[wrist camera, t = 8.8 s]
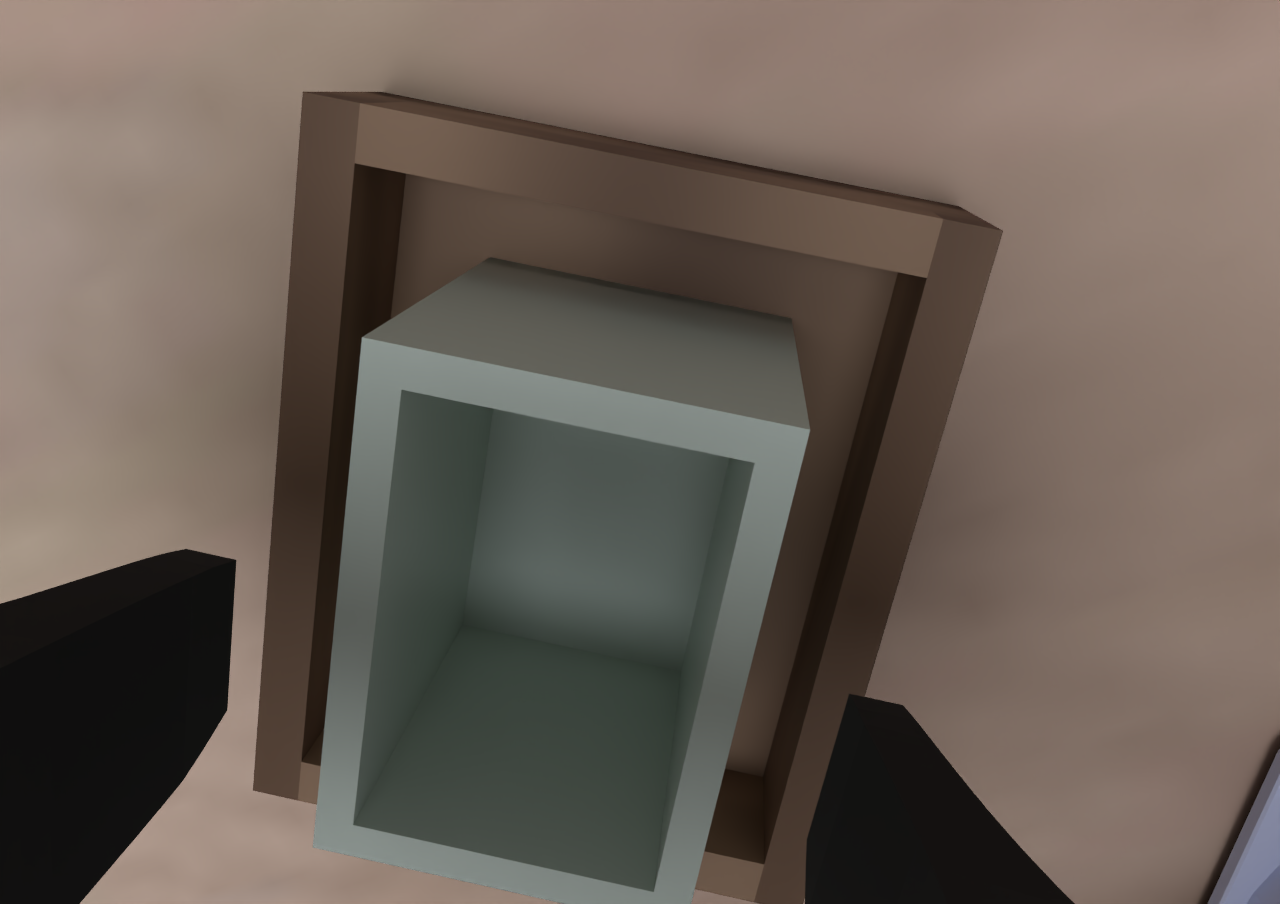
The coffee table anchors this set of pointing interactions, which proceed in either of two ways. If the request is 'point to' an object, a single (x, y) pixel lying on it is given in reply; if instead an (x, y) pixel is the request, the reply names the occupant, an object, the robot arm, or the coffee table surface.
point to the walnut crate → (662, 261)
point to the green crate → (554, 580)
